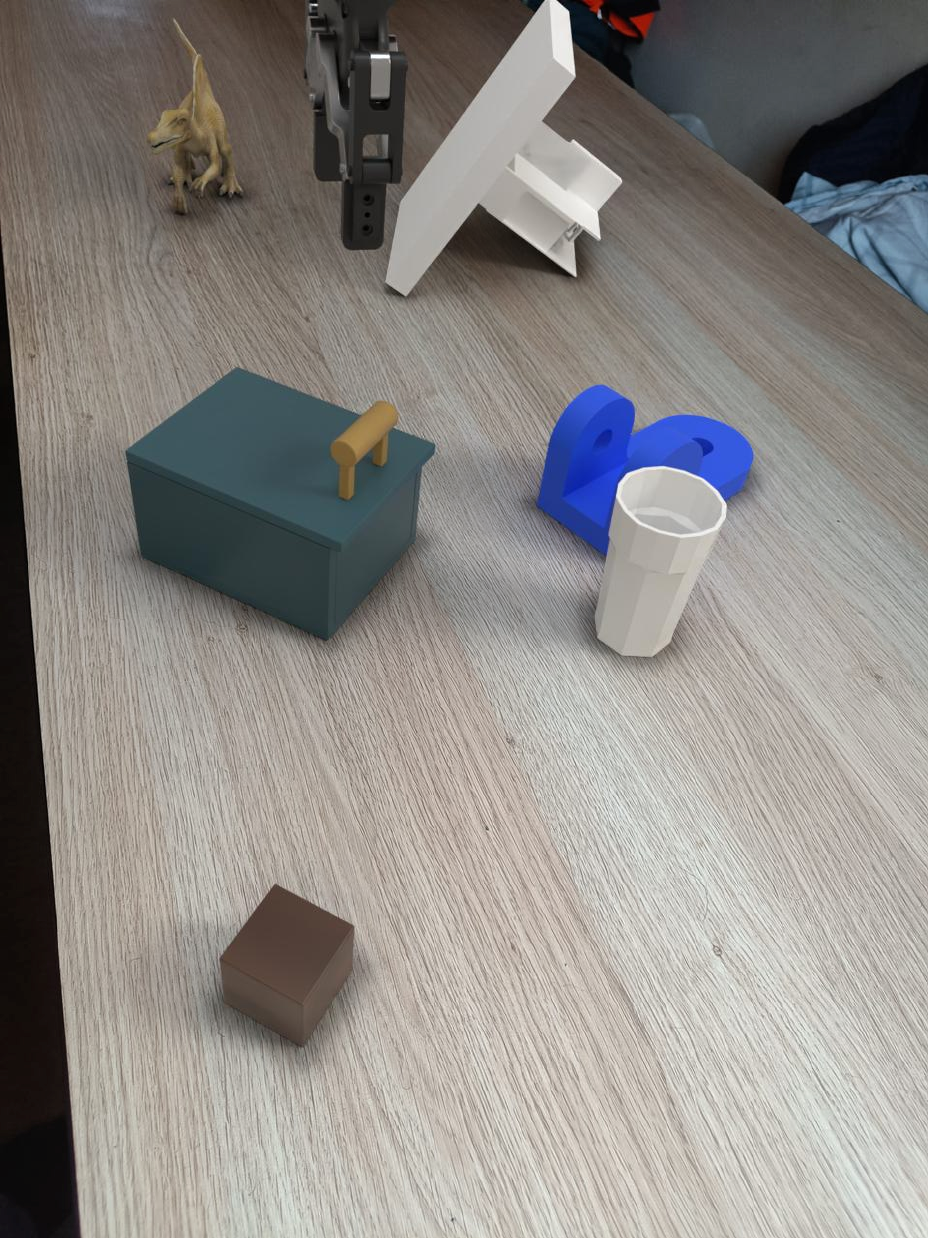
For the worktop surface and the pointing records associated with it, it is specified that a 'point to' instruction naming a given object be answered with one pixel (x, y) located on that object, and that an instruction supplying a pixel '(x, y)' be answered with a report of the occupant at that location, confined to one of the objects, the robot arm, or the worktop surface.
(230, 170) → the dinosaur figurine
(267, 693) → the worktop surface
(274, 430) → the lid
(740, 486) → the bracket
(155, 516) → the box
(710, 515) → the cup
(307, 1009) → the block
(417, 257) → the white tilted panel stand
